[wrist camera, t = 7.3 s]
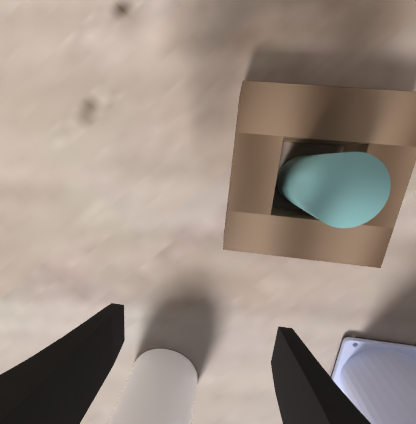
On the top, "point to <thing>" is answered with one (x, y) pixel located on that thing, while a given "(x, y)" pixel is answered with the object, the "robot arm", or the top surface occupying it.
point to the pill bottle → (157, 390)
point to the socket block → (324, 135)
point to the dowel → (336, 186)
